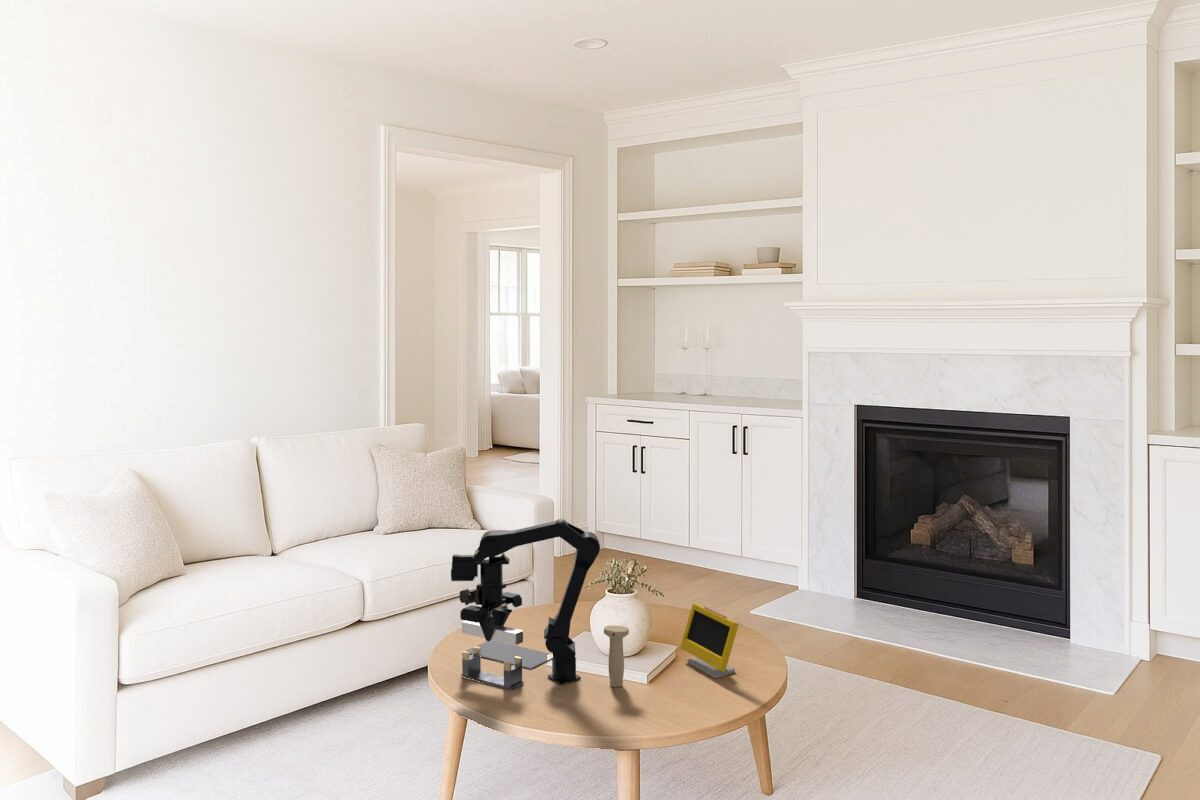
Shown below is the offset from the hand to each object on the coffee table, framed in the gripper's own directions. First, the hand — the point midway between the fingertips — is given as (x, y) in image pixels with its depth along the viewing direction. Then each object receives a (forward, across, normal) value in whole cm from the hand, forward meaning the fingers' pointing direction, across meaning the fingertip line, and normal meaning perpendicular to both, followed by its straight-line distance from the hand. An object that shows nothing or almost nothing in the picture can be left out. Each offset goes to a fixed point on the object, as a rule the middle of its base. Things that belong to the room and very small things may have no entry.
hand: (492, 639), depth 247 cm
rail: (0, 0, 0) cm, 0 cm away
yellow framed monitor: (+11, -38, +45) cm, 60 cm away
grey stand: (+11, 0, 0) cm, 11 cm away
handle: (+11, -14, +29) cm, 34 cm away
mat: (+11, -18, -8) cm, 22 cm away
